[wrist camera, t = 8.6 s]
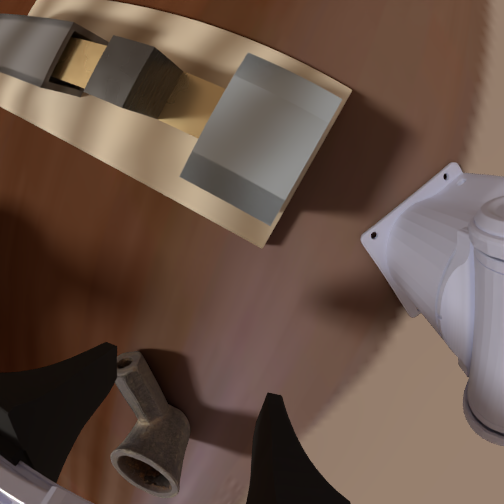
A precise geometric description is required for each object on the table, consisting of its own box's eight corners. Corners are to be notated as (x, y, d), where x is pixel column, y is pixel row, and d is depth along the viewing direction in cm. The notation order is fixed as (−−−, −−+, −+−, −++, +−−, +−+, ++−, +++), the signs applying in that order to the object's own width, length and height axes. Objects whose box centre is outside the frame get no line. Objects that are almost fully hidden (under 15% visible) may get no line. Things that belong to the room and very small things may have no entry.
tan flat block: (280, 123, 17) (277, 97, 11) (256, 166, 18) (239, 164, 11) (60, 39, 17) (3, 17, 10) (44, 72, 18) (-16, 57, 11)
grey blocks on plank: (349, 94, 18) (373, 65, 12) (263, 244, 22) (254, 275, 15) (47, -2, 17) (8, -22, 11) (-4, 101, 21) (-48, 97, 14)
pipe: (163, 343, 25) (123, 403, 17) (209, 443, 28) (192, 502, 20) (108, 348, 26) (62, 399, 18) (159, 442, 29) (135, 495, 21)
